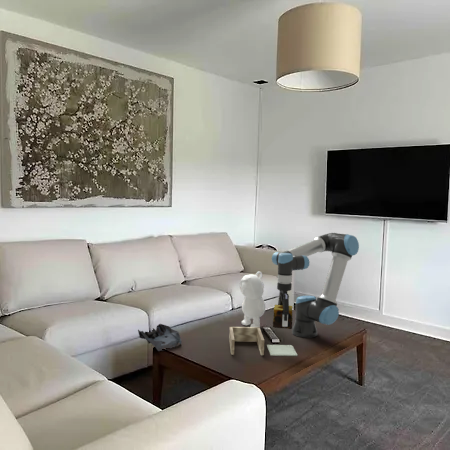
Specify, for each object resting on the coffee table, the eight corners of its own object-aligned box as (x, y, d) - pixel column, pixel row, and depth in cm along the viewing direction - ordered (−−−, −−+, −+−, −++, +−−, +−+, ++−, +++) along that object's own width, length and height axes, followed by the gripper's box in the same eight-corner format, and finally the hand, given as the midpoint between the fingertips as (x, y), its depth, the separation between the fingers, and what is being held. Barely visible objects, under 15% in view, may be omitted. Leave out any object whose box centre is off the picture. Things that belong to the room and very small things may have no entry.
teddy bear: (250, 333, 255) (252, 275, 252) (232, 325, 269) (234, 270, 266) (273, 327, 266) (275, 272, 263) (255, 320, 280) (256, 268, 277)
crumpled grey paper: (154, 354, 218) (154, 337, 217) (136, 342, 233) (136, 326, 233) (183, 347, 229) (184, 330, 228) (165, 336, 245) (165, 321, 244)
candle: (291, 329, 221) (292, 310, 220) (272, 327, 222) (273, 309, 222) (292, 323, 231) (293, 305, 230) (273, 322, 232) (274, 304, 232)
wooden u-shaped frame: (258, 340, 242) (259, 327, 241) (263, 355, 221) (264, 340, 220) (229, 340, 241) (229, 326, 240) (231, 354, 220) (231, 339, 219)
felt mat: (292, 346, 235) (292, 345, 235) (297, 356, 221) (297, 354, 221) (266, 345, 234) (266, 344, 234) (270, 355, 220) (270, 354, 220)
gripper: (274, 277, 236) (272, 316, 238) (281, 287, 213) (279, 329, 214) (287, 278, 236) (285, 316, 238) (296, 287, 213) (294, 330, 215)
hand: (282, 322), depth 226 cm, fingers closed on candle, 11 cm apart
